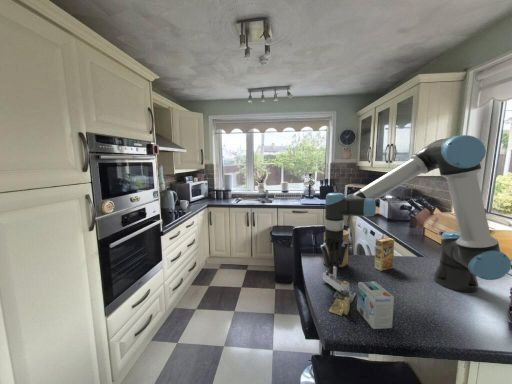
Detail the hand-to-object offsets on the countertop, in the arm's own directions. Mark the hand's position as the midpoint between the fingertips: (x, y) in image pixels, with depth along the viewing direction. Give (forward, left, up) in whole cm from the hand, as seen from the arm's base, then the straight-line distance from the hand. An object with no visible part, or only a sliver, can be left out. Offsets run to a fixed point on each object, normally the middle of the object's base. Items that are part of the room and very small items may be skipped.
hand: (333, 280), depth 102 cm
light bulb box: (-18, +16, -2) cm, 24 cm away
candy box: (-17, -31, -2) cm, 36 cm away
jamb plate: (-7, +7, -2) cm, 10 cm away
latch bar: (-2, +4, -1) cm, 4 cm away
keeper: (-7, +16, -2) cm, 17 cm away
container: (+5, -22, -2) cm, 23 cm away
